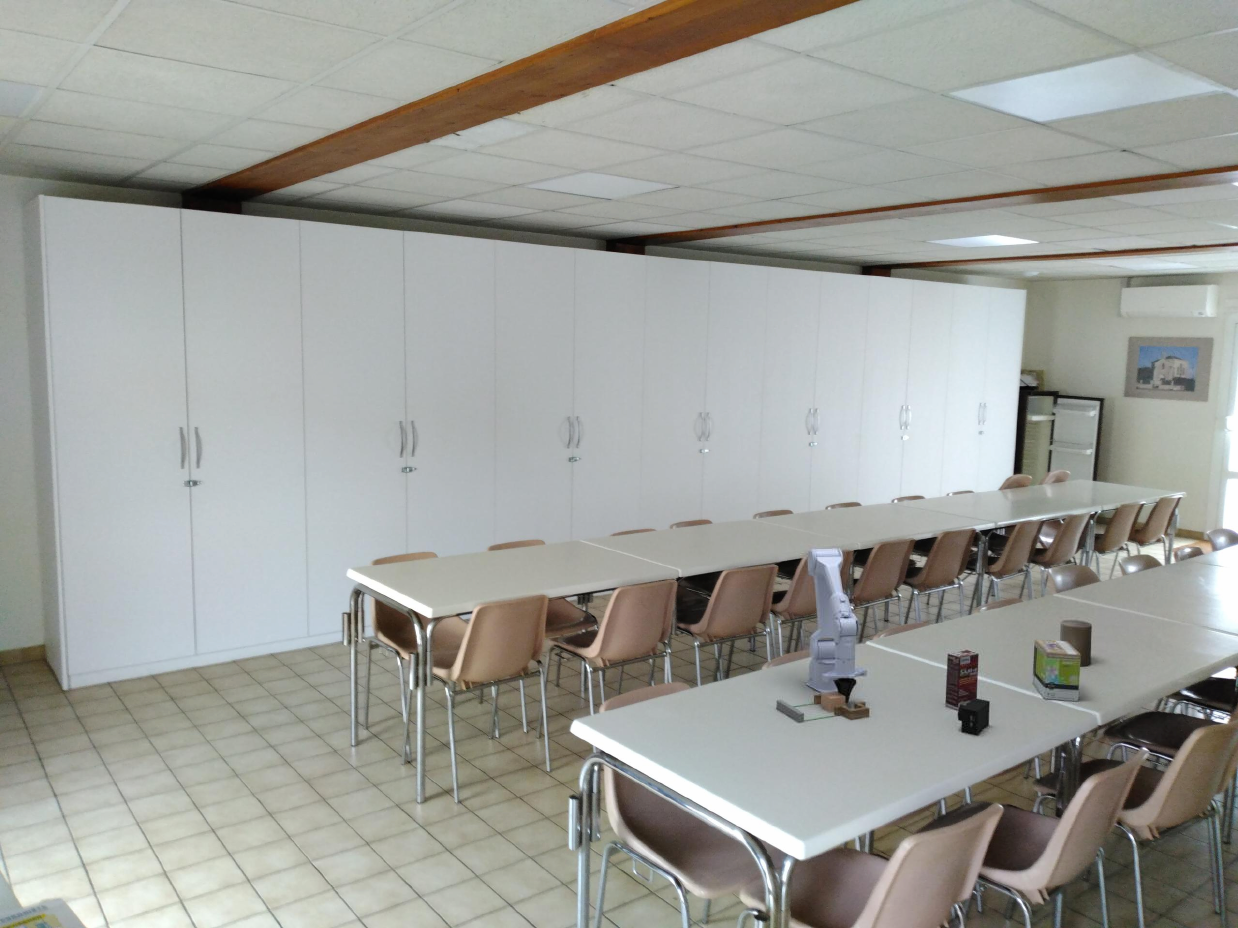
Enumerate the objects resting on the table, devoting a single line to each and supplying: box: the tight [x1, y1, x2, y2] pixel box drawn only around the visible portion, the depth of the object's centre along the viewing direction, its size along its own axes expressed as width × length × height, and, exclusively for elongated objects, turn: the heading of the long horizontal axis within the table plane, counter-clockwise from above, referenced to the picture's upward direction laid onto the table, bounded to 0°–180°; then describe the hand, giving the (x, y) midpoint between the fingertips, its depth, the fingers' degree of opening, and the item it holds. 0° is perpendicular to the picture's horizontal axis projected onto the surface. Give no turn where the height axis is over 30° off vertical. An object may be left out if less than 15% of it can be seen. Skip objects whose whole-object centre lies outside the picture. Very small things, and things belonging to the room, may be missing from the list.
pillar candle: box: [1059, 619, 1093, 667], centre depth 308 cm, size 10×10×15 cm
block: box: [820, 691, 846, 713], centre depth 266 cm, size 5×5×4 cm
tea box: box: [1032, 639, 1081, 702], centre depth 278 cm, size 15×10×15 cm
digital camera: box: [957, 697, 990, 737], centre depth 250 cm, size 10×5×7 cm, turn 141°
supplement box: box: [944, 649, 979, 711], centre depth 267 cm, size 9×5×16 cm, turn 120°
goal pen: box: [776, 699, 836, 723], centre depth 262 cm, size 12×12×2 cm
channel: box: [813, 691, 870, 721], centre depth 265 cm, size 16×10×2 cm, turn 22°
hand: (844, 702), depth 267 cm, fingers closed
